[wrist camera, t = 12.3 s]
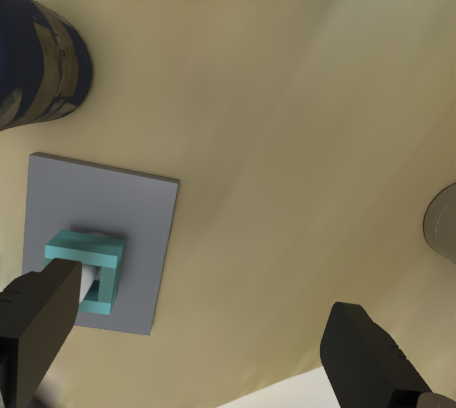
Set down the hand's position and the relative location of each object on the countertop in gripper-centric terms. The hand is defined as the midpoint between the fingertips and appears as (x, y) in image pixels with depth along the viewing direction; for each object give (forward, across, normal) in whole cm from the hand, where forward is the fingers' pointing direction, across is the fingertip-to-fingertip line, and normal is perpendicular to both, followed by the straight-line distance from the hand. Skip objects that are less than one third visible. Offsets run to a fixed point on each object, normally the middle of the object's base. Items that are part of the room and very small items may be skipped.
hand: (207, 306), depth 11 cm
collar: (+22, +10, +12) cm, 27 cm away
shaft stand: (+26, +10, +12) cm, 30 cm away
